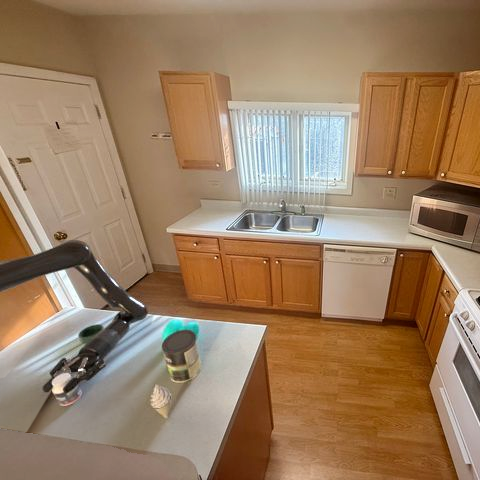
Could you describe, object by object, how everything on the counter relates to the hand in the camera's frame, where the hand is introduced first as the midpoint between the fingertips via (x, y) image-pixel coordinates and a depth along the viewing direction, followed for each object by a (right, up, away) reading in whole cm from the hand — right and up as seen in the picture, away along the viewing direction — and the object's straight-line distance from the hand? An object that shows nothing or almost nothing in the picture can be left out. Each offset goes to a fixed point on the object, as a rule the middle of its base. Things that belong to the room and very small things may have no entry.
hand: (55, 390), depth 74 cm
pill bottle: (0, -6, +5) cm, 8 cm away
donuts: (+23, +2, +28) cm, 36 cm away
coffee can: (+30, -3, +17) cm, 34 cm away
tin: (-14, +5, +29) cm, 33 cm away
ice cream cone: (+32, -9, +2) cm, 33 cm away
